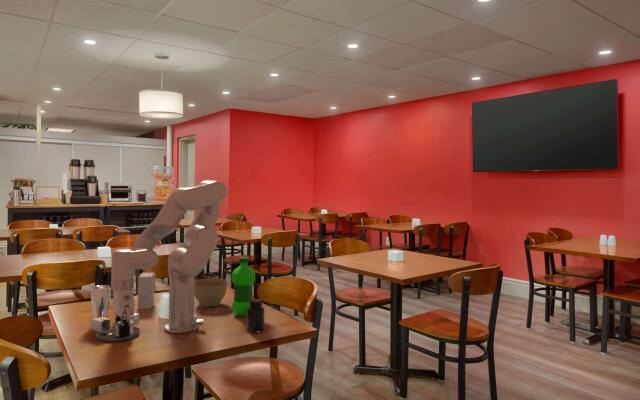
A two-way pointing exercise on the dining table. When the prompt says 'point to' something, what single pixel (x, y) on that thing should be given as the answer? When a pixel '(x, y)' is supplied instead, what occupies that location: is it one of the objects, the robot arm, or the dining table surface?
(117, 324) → the knob
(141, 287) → the skincare box
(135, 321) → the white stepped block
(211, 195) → the robot arm
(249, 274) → the plastic bottle
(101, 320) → the white block
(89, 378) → the dining table surface
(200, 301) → the planter bowl
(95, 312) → the beer glass
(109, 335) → the tribrach plate
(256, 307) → the supplement bottle
